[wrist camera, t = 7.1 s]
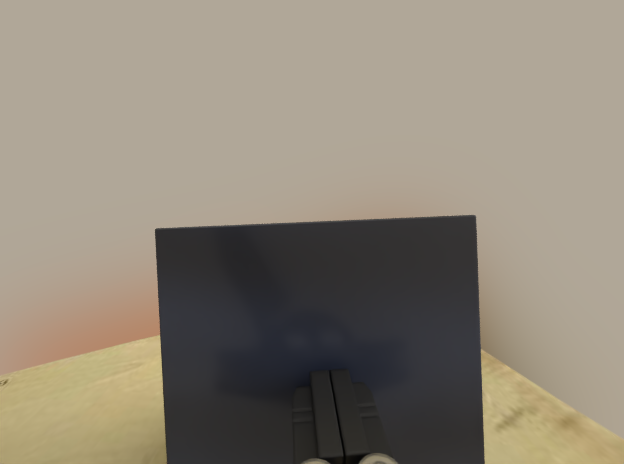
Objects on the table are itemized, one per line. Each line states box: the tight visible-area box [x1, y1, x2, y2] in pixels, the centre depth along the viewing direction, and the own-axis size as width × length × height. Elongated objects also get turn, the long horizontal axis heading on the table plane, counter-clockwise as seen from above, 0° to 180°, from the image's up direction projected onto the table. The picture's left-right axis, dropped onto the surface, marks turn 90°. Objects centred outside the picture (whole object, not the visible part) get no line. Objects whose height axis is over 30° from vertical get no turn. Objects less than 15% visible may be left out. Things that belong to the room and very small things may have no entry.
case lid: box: [155, 215, 485, 464], centre depth 14 cm, size 16×13×1 cm
